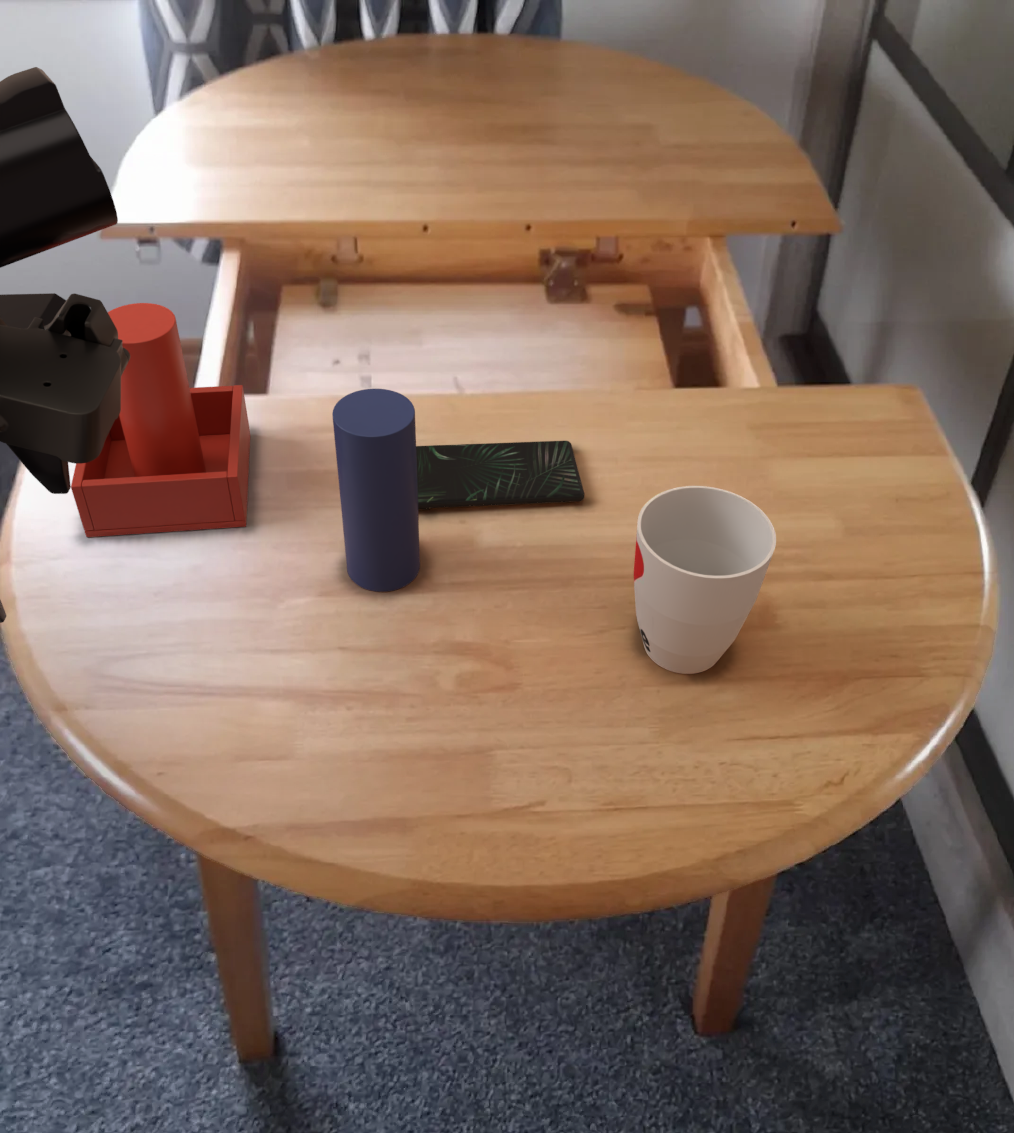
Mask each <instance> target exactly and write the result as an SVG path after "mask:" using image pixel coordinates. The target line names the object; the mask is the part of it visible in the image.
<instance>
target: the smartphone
mask: <svg viewBox="0 0 1014 1133" xmlns="http://www.w3.org/2000/svg"><path fill="white" fill-rule="evenodd" d="M416 457H417V487H418V511H425V510H426V511H430V509H441V508H443V509H445V508H463V507H464V508H465V507H467V508H468V507H469V508H470V507H488V506H489V507H490V506H511V505H512V506H513V505H515V506H516V505H534V504H538V505H539V504H557V503H579V502H582V501H584V499H585V490H584V487H583V483H582V482H583V481H582V479H581V475H580V470H579V467H578V464H577V460H576V455H575V453H574V449H573V445H572V443H571V441H569V440H545V441H544V440H543V441H516V442H494V443H493V442H488V443H486V442H485V443H464V444H463V443H461V444H436V445H431V444H430V445H416Z"/></svg>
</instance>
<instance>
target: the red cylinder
mask: <svg viewBox="0 0 1014 1133" xmlns="http://www.w3.org/2000/svg"><path fill="white" fill-rule="evenodd" d="M107 312H108V314H109V316H110V318H111V319H112V321H113V323H114V325H115V327H116V328H117V331H118V339H120V340H122V346H123V348H125V349H126V350H128V352H129V353H130V360H129V362H128V364H127V366H126V368H125V370H124V372H123V374H122V376H121V411H120V414H119V416H120V420H121V424H122V428H123V432H124V436H125V440H126V444H127V448H128V452H129V455H130V459H131V463H132V467H133V471H134V475H135V477H142V476H158V475H174V474H191V473H206V468H205V463H204V458H203V453H202V448H201V443H200V438H199V433H198V428H197V423H196V418H195V413H194V408H193V403H192V398H191V393H190V388H191V387H190V384H189V379H188V373H187V368H186V363H185V359H184V352H183V348H182V344H181V340H180V339H181V338H180V333H179V327H178V324H177V323H178V322H177V318H176V316H175V314H174V312H173V311H172V310H170V309H169V308H168V307H166V306H165V305H161V304H157V303H153V302H152V303H150V302H136V303H135V302H134V303H129V304H124V305H121V306H118V307H116V308H113V309H111V310H109V311H107Z"/></svg>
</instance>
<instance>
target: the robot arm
mask: <svg viewBox="0 0 1014 1133" xmlns="http://www.w3.org/2000/svg"><path fill="white" fill-rule="evenodd" d="M118 222H119V218H118V213H117V209H116V205H115V202H114V199H113V196H112V192H111V190H110V187H109V185H108V182H107V180H106V177H105V175H104V172H103V170H102V169H101V167H100V166H99V164H98V163H97V162H96V161H95V160H94V158H92V156H91V155H90V152H89V150H88V149H87V146H86V144H85V141H84V140H83V138H82V137H81V134H80V132H79V130H78V129H77V127H76V125H75V123H74V120H72V118H71V115H70V114H69V113H68V111H67V109H66V107H65V105H64V103H63V100H62V97H61V95H60V92H59V89H58V87H57V85H56V83H55V82H54V81H53V80H52V79H51V78H50V77H49V75H47V73H46V72H45V71H44V70H43V69H41V68H39V67H37V66H33V67H31V68H27V69H24V70H22V71H19V72H16V73H13V74H11V75H8V76H7V77H5V78H3V79H2V80H0V268H4V267H6V266H9V265H12V264H15V263H17V262H20V261H23V260H25V259H27V258H30V257H33V256H36V255H38V254H41V253H44V252H46V251H49V250H51V249H54V248H57V247H60V246H62V245H65V244H67V243H71V242H73V241H75V240H78V239H81V238H83V237H86V236H89V235H91V234H94V233H97V232H99V231H103V230H106V229H107V228H111V227H113V226H116V225H118ZM108 312H109V311H108V310H107V308H106V307H105V305H104V303H103V302H102V301H101V300H100V299H98V298H93V297H89V296H86V295H82V294H80V293H79V294H78V293H71V294H69V296H68V298H67V299H65V298H64V297H62V296H60V295H58V294H57V293H55V292H54V293H13V294H9V293H6V294H0V443H3V444H6V446H7V447H8V448H9V449H10V450H11V452H12V453H13V454H14V456H16V458H17V459H18V460H19V461H20V462H21V464H22V465H23V467H25V468H26V469H27V470H28V472H29V473H30V474H31V476H32V477H34V479H35V480H36V481H37V482H39V483H40V484H41V485H42V487H44V488H45V489H46V491H48V492H49V493H50V494H53V495H54V494H55V495H66V494H68V493H69V492H70V490H71V476H70V468H69V467H70V466H69V463H71V464H76V463H87V462H90V461H93V460H94V459H96V458H97V457H98V456H99V454H100V453H101V451H102V449H103V446H104V442H105V440H106V438H107V435H108V433H109V431H110V429H111V427H112V425H113V423H114V421H115V419H117V418H118V416H119V414H120V411H121V376H122V374H123V372H124V370H125V368H126V366H127V364H128V362H129V360H130V353H129V352H128V350H126V349H125V348H123V346H122V340H120V339H118V331H117V328H116V327H115V325H114V323H113V321H112V319H111V318H110V316H109V314H108ZM6 618H7V613H6V610H5V608H4V604H3V602H2V600H1V599H0V624H1V623H2V624H3V623H4V622H5V620H6Z"/></svg>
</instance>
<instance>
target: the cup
mask: <svg viewBox="0 0 1014 1133" xmlns="http://www.w3.org/2000/svg"><path fill="white" fill-rule="evenodd" d="M776 546H777V533H776V530H775V528H774V525H773V523H772V520H770V518H769V516H768V515H767V514H766V513H765V512H764V510H762V509H761V508H760V507H759V506H758V505H756V504H755V503H754V502H752V501H751V500H749V499H747V498H745V497H744V496H742V495H740V494H737V493H735V492H732V491H730V490H727V489H722V488H719V487H713V486H709V485H707V486H706V485H684V486H677V487H674V488H669V489H666V490H663V491H662V492H659V493H658V494H656V495H654V496H653V497H651V498H649V500H648V501H647V502H645V504H643V506H642V507H641V509H640V511H639V513H638V517H637V523H636V537H635V548H634V549H635V550H634V562H633V588H634V589H633V590H634V604H635V616H636V621H637V625H638V629H639V633H640V637H641V641H642V644H643V648H644V650H645V652H646V654H647V656H648V657H649V658H650V660H651V661H653V662H654V664H656V665H657V666H659V667H661V668H663V669H665V670H667V671H669V672H672V673H675V674H683V675H692V674H693V675H694V674H698V673H703V672H705V671H707V670H709V669H711V668H712V667H713V666H715V665H716V663H718V661H719V660H720V658H721V657H722V656H723V655H724V654H725V653H726V651H727V650H728V649H729V648H730V647H731V645H733V643H734V642H735V640H736V639H737V637H738V635H739V633H740V632H741V629H742V627H743V626H744V624H745V623H746V621H747V618H748V616H749V615H750V613H751V611H752V609H753V608H754V605H755V604H756V602H757V599H758V596H759V594H760V591H761V589H762V586H763V583H764V580H765V577H766V575H767V572H768V569H769V566H770V564H771V560H772V558H773V555H774V553H775V549H776Z"/></svg>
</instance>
